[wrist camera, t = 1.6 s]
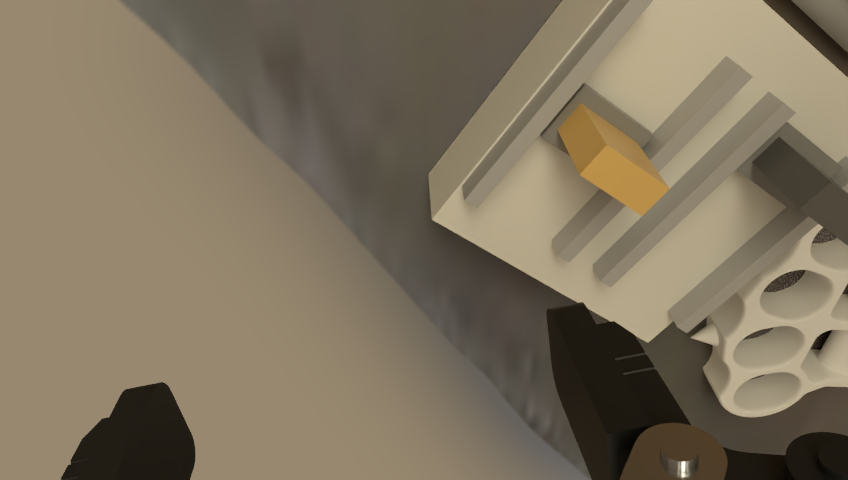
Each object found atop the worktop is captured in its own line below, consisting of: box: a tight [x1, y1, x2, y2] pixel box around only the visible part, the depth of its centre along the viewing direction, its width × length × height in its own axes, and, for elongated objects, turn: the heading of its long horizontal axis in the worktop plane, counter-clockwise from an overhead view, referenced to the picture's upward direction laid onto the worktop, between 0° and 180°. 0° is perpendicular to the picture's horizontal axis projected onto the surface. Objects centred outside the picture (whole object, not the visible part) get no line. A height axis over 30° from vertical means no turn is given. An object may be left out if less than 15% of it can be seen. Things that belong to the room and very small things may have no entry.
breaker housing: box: [428, 0, 848, 343], centre depth 33 cm, size 17×16×6 cm
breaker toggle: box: [540, 83, 670, 216], centre depth 28 cm, size 3×4×5 cm
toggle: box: [736, 122, 848, 246], centre depth 29 cm, size 3×4×5 cm
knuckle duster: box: [690, 224, 848, 417], centre depth 42 cm, size 3×18×15 cm
